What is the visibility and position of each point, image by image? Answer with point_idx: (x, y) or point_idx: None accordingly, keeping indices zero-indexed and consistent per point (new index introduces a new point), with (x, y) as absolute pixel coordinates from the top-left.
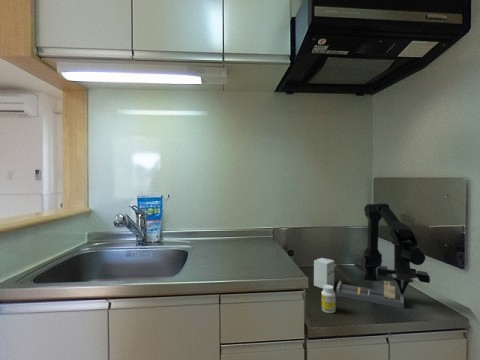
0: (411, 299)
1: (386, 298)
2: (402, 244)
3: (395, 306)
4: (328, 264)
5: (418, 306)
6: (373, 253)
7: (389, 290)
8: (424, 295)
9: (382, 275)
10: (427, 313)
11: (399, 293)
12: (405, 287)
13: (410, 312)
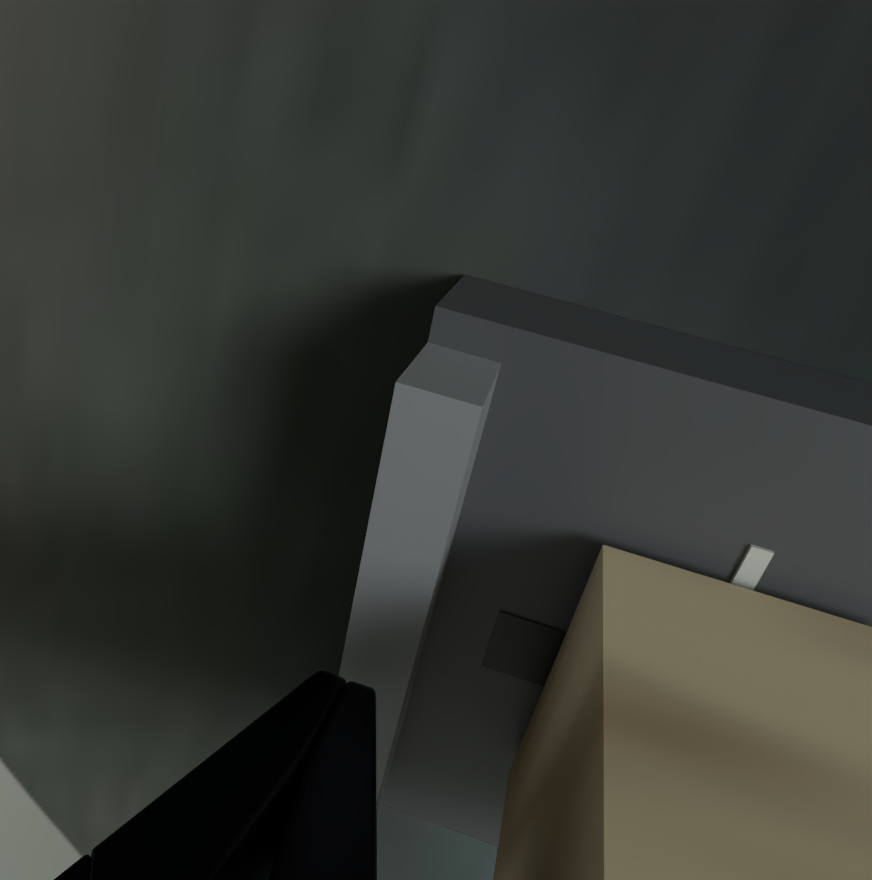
0: (218, 680)
1: (844, 577)
2: None
3: (651, 329)
4: None
5: (145, 438)
6: None
7: (819, 807)
8: (36, 784)
9: None
10: (13, 132)
11: (383, 787)
12: (100, 868)
13: (361, 70)
